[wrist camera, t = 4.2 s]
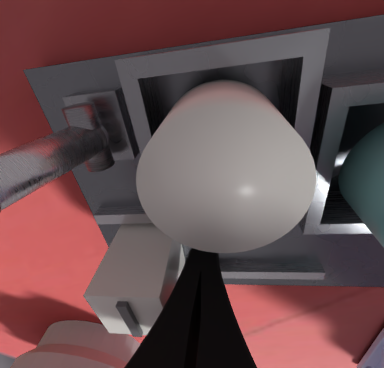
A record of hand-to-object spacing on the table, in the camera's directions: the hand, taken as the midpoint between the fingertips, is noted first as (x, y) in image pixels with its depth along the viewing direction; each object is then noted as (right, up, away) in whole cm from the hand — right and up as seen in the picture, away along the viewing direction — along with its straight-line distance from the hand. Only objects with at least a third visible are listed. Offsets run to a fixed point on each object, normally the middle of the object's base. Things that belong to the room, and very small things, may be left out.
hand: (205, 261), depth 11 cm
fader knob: (-3, +1, +2) cm, 3 cm away
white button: (0, +5, -4) cm, 6 cm away
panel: (+2, +4, 0) cm, 4 cm away
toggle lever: (-4, +5, -3) cm, 8 cm away
